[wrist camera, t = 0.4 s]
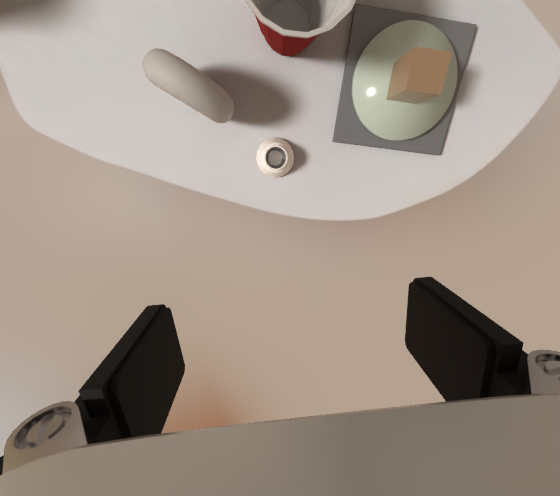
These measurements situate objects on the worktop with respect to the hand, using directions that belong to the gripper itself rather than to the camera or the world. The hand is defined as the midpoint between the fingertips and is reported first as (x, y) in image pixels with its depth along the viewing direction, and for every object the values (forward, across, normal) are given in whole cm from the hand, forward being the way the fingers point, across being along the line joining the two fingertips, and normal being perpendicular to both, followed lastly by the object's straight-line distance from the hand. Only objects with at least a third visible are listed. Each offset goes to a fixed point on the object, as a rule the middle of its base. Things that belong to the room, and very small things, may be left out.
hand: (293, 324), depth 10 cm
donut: (+30, +8, -14) cm, 34 cm away
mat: (+30, -18, -13) cm, 37 cm away
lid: (+29, -18, -13) cm, 37 cm away
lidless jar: (+30, -1, -6) cm, 31 cm away
